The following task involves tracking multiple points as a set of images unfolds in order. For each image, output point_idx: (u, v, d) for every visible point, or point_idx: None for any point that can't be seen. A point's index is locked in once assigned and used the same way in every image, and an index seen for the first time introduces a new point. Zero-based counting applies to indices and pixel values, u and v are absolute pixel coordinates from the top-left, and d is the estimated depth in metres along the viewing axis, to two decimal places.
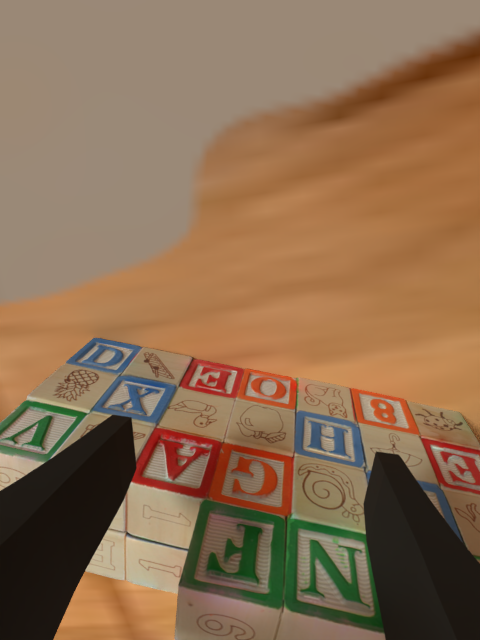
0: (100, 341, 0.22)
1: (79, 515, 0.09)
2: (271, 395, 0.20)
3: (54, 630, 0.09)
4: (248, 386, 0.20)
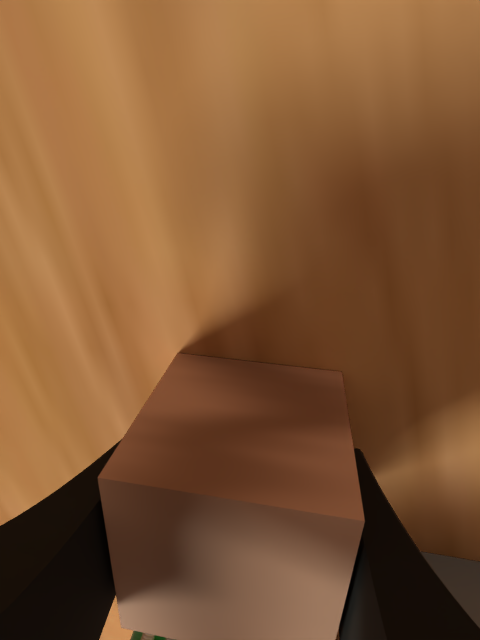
0: None
1: None
2: None
3: (97, 639, 0.08)
4: None
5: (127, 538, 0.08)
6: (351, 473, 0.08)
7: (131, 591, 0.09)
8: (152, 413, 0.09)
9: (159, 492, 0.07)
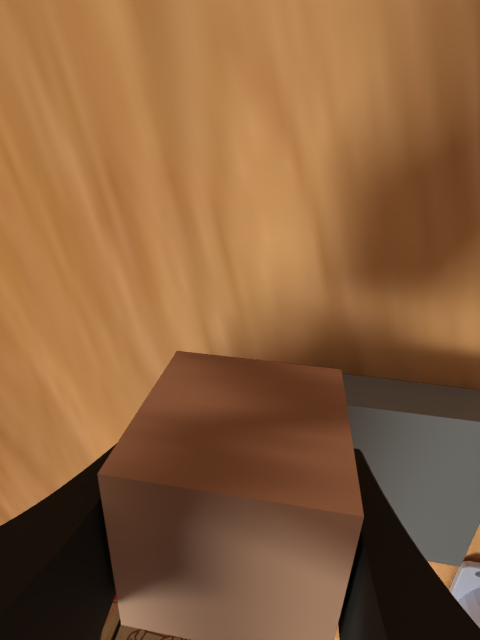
0: None
1: None
2: None
3: (96, 639, 0.08)
4: None
5: (126, 534, 0.08)
6: (350, 469, 0.08)
7: (131, 588, 0.09)
8: (152, 410, 0.09)
9: (159, 488, 0.07)
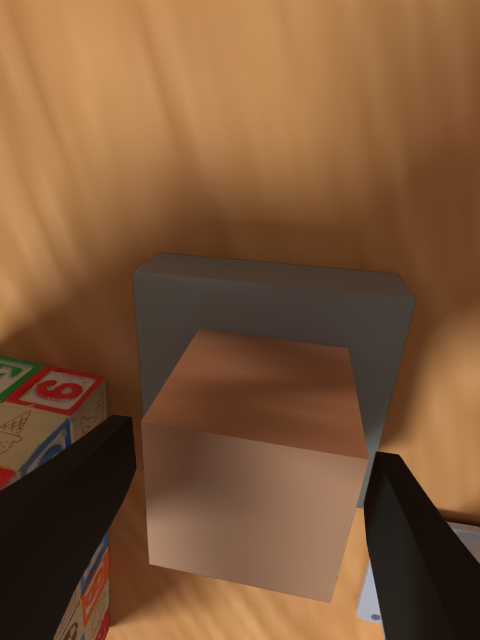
0: None
1: (79, 515, 0.09)
2: None
3: (54, 629, 0.09)
4: None
5: (162, 478, 0.09)
6: (357, 425, 0.09)
7: (161, 528, 0.10)
8: (182, 375, 0.10)
9: (194, 434, 0.09)
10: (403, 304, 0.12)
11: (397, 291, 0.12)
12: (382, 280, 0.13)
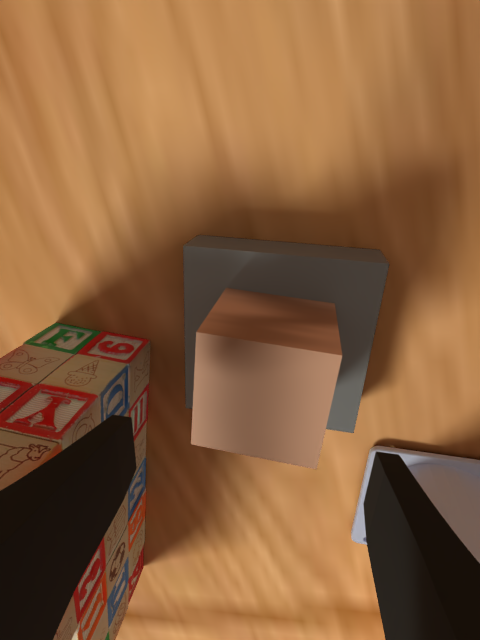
0: None
1: (79, 515, 0.09)
2: None
3: (54, 629, 0.09)
4: None
5: (206, 374, 0.14)
6: (336, 340, 0.14)
7: (202, 414, 0.15)
8: (218, 311, 0.15)
9: (231, 340, 0.13)
10: (380, 268, 0.16)
11: (376, 260, 0.17)
12: (366, 253, 0.17)
